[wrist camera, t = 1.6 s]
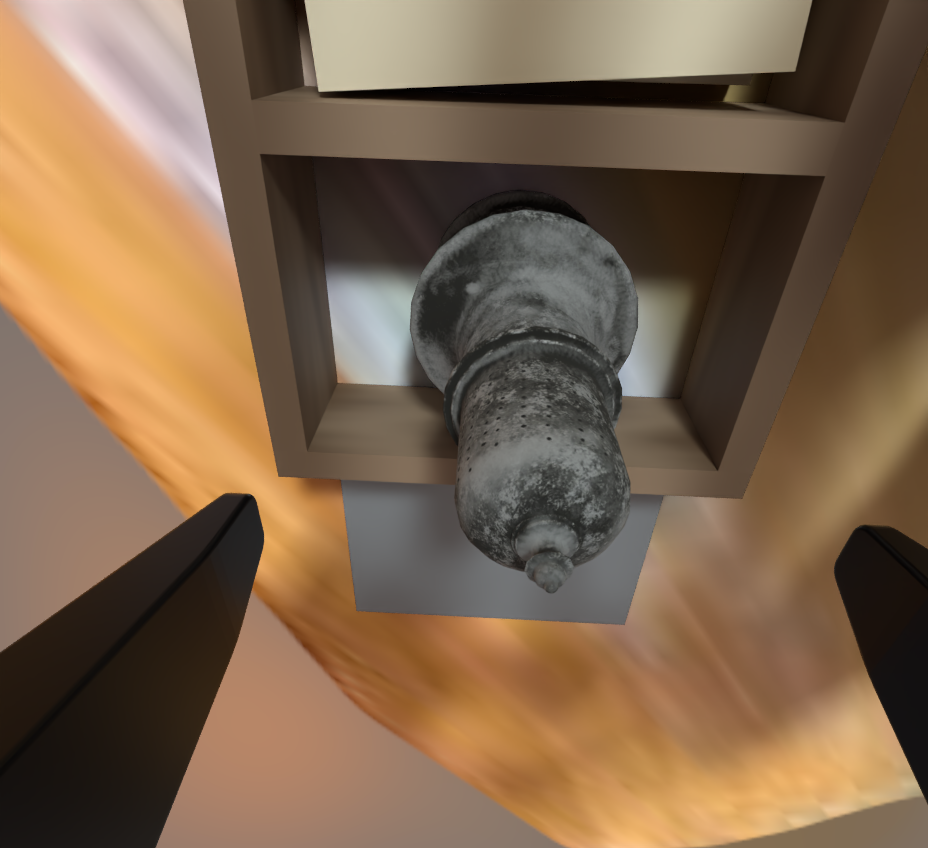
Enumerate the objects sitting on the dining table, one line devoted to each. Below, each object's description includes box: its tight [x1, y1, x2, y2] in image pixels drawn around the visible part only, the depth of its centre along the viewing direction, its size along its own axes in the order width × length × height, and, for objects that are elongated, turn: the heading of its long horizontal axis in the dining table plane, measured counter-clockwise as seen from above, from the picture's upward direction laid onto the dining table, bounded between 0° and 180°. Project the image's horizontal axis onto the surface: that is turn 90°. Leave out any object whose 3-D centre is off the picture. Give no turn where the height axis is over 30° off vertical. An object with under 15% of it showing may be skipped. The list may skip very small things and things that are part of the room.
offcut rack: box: [183, 0, 928, 499], centre depth 14 cm, size 14×16×4 cm
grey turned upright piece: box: [410, 190, 638, 594], centre depth 13 cm, size 6×6×12 cm
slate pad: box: [341, 480, 664, 625], centre depth 23 cm, size 12×8×1 cm
